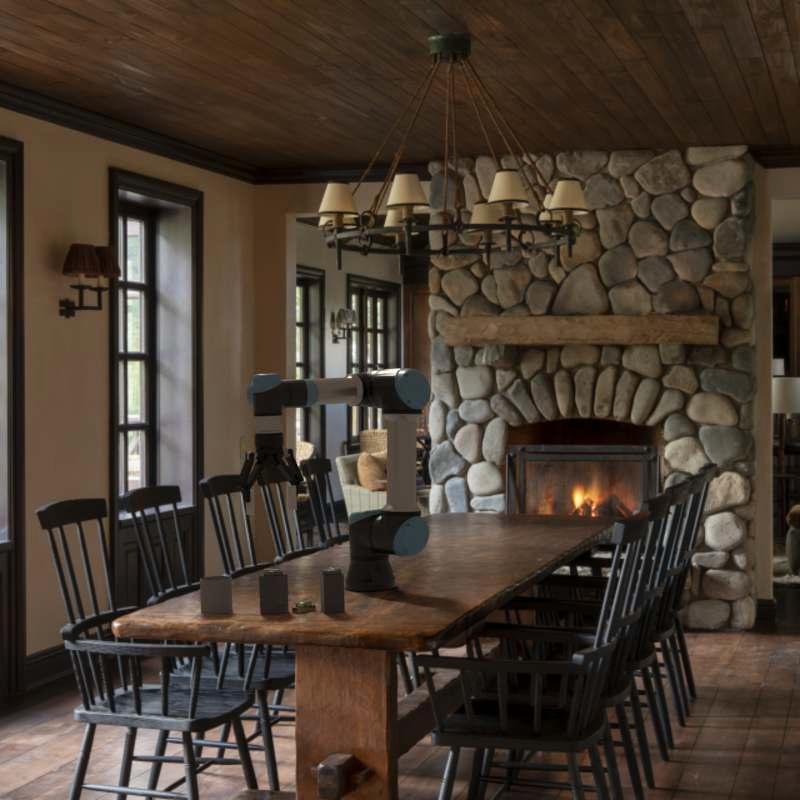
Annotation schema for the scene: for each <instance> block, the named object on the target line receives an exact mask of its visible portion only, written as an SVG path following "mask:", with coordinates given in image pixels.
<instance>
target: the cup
mask: <svg viewBox="0 0 800 800" xmlns="http://www.w3.org/2000/svg"><path fill="white" fill-rule="evenodd" d="M232 581H233V580H232V576H229V575H212V576H205V577H201V578H199V587H200V588H199V590H200V591H199V592H200V613H202V614H208V615H218V614H225V613H226V614H227V613H230V612H232V611H234V610H233V609H234V607H233V587H232V586H233V584H232Z"/></svg>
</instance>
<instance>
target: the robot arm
mask: <svg viewBox="0 0 800 800" xmlns="http://www.w3.org/2000/svg"><path fill="white" fill-rule="evenodd" d="M431 392H432V390H431V385H430V382H429V380H428V379H427V377H426V376H425V374H424V373H423V372H422V371H420V370H418V369H417V368H416V369H415V368H407V367H405V368H404V367H402V368H385V369H384V368H381V369H380V368H379V369H374V370H367V371H363V372H357V373H349V374H348V373H347V374H346V375H345V376H343V377H324V378H300V379H296V378H295V379H282V377H281V374H280V373H257V374H255V375H253V377H252V382H251V383H250V384H249V385H248V387H247V390H246V399H247V402H248V404H250V405H251V406H252V407H253V408H252V409H253V425H254V427H253V428H254V430H253V431H255V434H254V446H255V452H254V451H246V452H245V454H244V463H243V466H242V468H241V471H240V473H239V476H238V479H237V481H236V484H235V487H236V488H237V489H240V490H242V495H243V496H242V497H243V502H244V503H245V513H246V514H245V515H246V516H255V514H256V513H255V494H254V492H255V491H254V490H255V489H252V488H253V486H254V485H255V483H256V481H257V480H258V478H259V476H260V475H261V474H262V471H264V470H265V469H266V468H267V469H268V468H277V469H278V470H279V471H280V472H281V474H282V475H283V476H284V478H285V479H286V480H287V482H288V483H289V484H287V499H288V500H287V501H288V502H287V503H288V505H287V507H288V510H291V511H292V510H293V511H297V510H298V507H297V505H298V504H297V502H298V501H297V498H298V497H299V486H300V485H301V483H304V482H305V477H304V476H303V474H302V471H301V469H300V467H299V465H298V462H297V460H296V459H295V456H294V454H295V453H294V449H293V448H283V447H284V433H283V432H282V431H283V430H284V423H283V409H297V408H302V409H303V408H305V409H306V408H310V407H313V406H319V405H338V404H339V405H341V404H346V405H347V406H349V407H366V408H372V409H381V416H382V417H383V418H385V420H386V423H387V424H386V425H387V427H386V503H385V505H383V507H382V508H378V509H377V508H376V509H369V510H360V511H354V512H351V513H350V515H349V517H348V542H349V543H348V544H349V564H348V569H347V573H346V578H344V589H346V590H349V591H352V592H353V591H355V592H377V591H378V592H379V591H386V590H391V589H394V588H396V587H397V581H396V576H395V574H394V570H393V567H392V564H391V562H390V556H398V557H401V558H403V557H405V558H406V557H415V556H417V555H419V554H421V553H422V552H423V550H424V549H425V548H426V546H427V545H428V542H429V539H430V526H429V523H427V520H426V519H425V518H423V517H422V509H421V508H420V506H419V505H418V503H417V457H418V456H417V453H418V452H417V449H418V448H417V442H418V440H417V438H418V437H417V435H418V429H417V427H418V420H419V419H420V418H421V417H422V416H423V409H424V408H425V407H426V406H427V405H428V402H430V400H431ZM283 458H284V459H285V461H286V462H285V461H284V459H283ZM255 460H256V462H255ZM287 465H288V466H287Z"/></svg>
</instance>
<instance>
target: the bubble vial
mask: <svg viewBox="0 0 800 800" xmlns="http://www.w3.org/2000/svg"><path fill="white" fill-rule="evenodd" d="M316 609H317V606H316V604H313V602H312V601H311V600H310V601H309V600H307V601H303V602H297V603H295V606H292V607H291V611H292V612H291V613H294V614H297V615H298V614H304V613H308V612H314V611H317V610H316Z"/></svg>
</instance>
